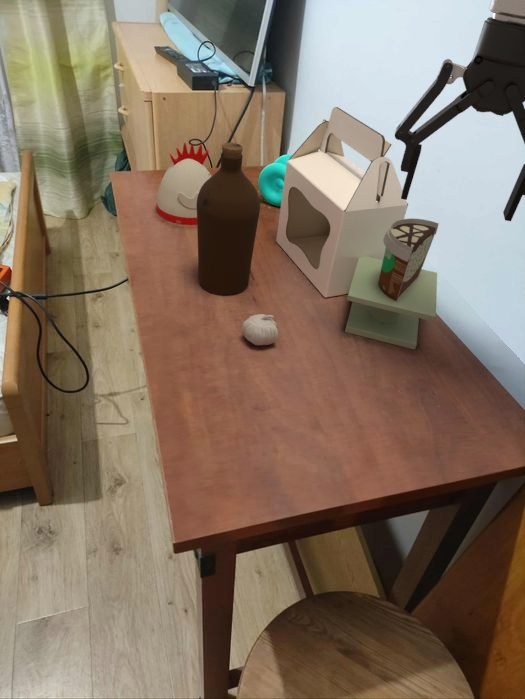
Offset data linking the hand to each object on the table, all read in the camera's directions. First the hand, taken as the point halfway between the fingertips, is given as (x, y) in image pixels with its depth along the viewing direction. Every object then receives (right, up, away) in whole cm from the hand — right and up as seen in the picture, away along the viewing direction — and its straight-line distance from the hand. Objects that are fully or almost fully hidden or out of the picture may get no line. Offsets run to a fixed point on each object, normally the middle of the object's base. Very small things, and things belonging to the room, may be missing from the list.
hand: (454, 206), depth 68 cm
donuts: (-21, +17, +57) cm, 63 cm away
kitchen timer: (-43, +12, +47) cm, 65 cm away
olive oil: (-33, -7, +27) cm, 43 cm away
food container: (-4, -8, +18) cm, 20 cm away
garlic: (-26, -18, +15) cm, 35 cm away
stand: (-4, -14, +23) cm, 27 cm away
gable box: (-13, -2, +36) cm, 38 cm away
